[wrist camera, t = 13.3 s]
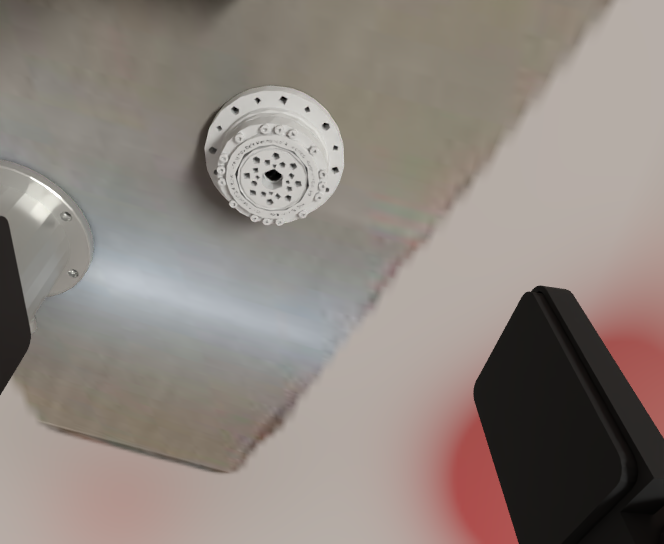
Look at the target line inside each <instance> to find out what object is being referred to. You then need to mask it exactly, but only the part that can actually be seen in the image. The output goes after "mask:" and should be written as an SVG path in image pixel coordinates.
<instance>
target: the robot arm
mask: <svg viewBox="0 0 664 544" xmlns="http://www.w3.org/2000/svg"><path fill="white" fill-rule="evenodd" d="M93 252H94V243H93V235H92V232H91V229H90V226H89V223H88V221H87V220H86V218H85V216H84V214H83V212H82V211H81V209H80V208H79V207H78V206H77V204H76V203H75V202H74V201H73V199H72V198H71V197H70V196H69V195H68V194H66V193H65V192H64V191H63V190H62V189H61V188H60V187H59V186H58V185H56V184H55V183H53V182H52V181H50V180H49V179H47V178H46V177H45V176H43V175H41V174H39V173H37V172H35V171H33V170H31V169H29V168H27V167H25V166H22V165H19V164H16V163H13V162H10V161H6V160H1V159H0V395H1V393H2V391H3V390H4V388H5V386H6V385H7V383H8V381H9V380H10V378H11V377H12V375H13V373H14V372H15V370H16V368H17V367H18V365H19V363H20V362H21V360H22V358H23V357H24V355H25V353H26V352H27V350H28V347H29V344H30V339H31V333H34V332H35V331H36V330H37V322H36V317H35V314H36V312H37V311H38V309H39V308H40V306H41V304H42V303H43V301H44V300H45V298H46V297H51V296H54V295H57V294H61V293H63V292H65V291H67V290H69V289H71V288H72V287H74V286H75V285H76V284H77V283H78V282H79V281H80V280H81V279H82V278H83V276H84V275H85V273H86V271H87V270H88V268H89V266H90V263H91V261H92V258H93ZM474 401H475V404H476V407H477V411H478V414H479V417H480V420H481V423H482V427H483V430H484V433H485V436H486V440H487V443H488V446H489V449H490V452H491V455H492V459H493V462H494V465H495V469H496V472H497V475H498V478H499V481H500V485H501V488H502V491H503V494H504V497H505V501H506V503H507V507H508V510H509V513H510V517H511V520H512V523H513V526H514V529H515V533H516V536H517V539H518V542H519V544H664V438H663V437H662V435H661V434H660V432H659V430H658V429H657V427H656V426H655V424H654V422H653V421H652V419H651V418H650V416H649V414H648V413H647V412H646V410H645V408H644V407H643V405H642V403H641V402H640V400H639V399H638V397H637V395H636V394H635V392H634V391H633V389H632V387H631V386H630V384H629V383H628V381H627V380H626V378H625V376H624V375H623V373H622V372H621V370H620V369H619V367H618V365H617V364H616V362H615V360H614V359H613V358H612V356H611V354H610V353H609V351H608V349H607V348H606V346H605V345H604V343H603V341H602V340H601V338H600V337H599V335H598V334H597V332H596V331H595V329H594V327H593V326H592V324H591V322H590V321H589V319H588V318H587V316H586V314H585V313H584V311H583V310H582V308H581V306H580V305H579V303H578V302H577V300H576V299H575V297H574V295H573V294H572V293H571V292H570V291H569V290H566V289H560V288H553V287H546V286H537V287H535V288H534V289H533V290H532V291H531V292H526V293H525V294H524V295H523V296H522V298H521V300H520V301H519V303H518V305H517V307H516V309H515V311H514V312H513V314H512V316H511V318H510V320H509V322H508V323H507V326H506V327H505V329H504V331H503V333H502V335H501V336H500V338H499V340H498V342H497V344H496V346H495V348H494V349H493V351H492V353H491V355H490V357H489V358H488V361H487V362H486V364H485V366H484V368H483V369H482V371H481V374H480V375H479V377H478V379H477V380H476V383H475V386H474Z"/></svg>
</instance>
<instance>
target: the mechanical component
mask: <svg viewBox="0 0 664 544" xmlns="http://www.w3.org/2000/svg"><path fill="white" fill-rule="evenodd" d="M282 96H284V97H285V98H286V99H283V98H281V97H282ZM257 97H258V98H257ZM233 106H234V107H236V108H238V109H235V108H234V107H233ZM308 106H309V107H308ZM324 123H328V124H326V125H324ZM204 149H205V157H206V166H207V171H208V173H209V175H210V177H211V179H212V181H213V184H214V185H215V187H216V188H217V189H218V191H219V192H220V193H221V195H222V196H223V197H224V198H225V199H227V200H228V201H229V205H230V206H231V207H232V208H236V209H237V210H238V211H239V212H240V213H242V214H244V215H246V216H248V217H250V219H251V221H253V222H257V221H260V222H263V224H265V225H269V224H271V223H276V224H277V225H278V226H280V225H282V224H283V223H288V222H291V221H293V220H296V219H299V218H305V217H306V216H307V214H308V213H309V212H312V211H314V210H315V209H317V208H318V207H319V206H321V205H322V204H324V203H325V202H326V201H327V199H328V198H329V197H330V196H331V195H332V194H333V193H334V191H335V189H336V187H337V186H338V184H339V182H340V179H341V175H342V172H343V168H344V149H343V141H342V138H341V135H340V132H339V129H338V126H337V124H336V123H335V121H334V120H333V118H332V117H331V115H330V114H329V112H328V111H327V110H326V109H325V108H324V107H323V106H322V105H321V104H320V103H318V102H317V101H316V100H315V99H313V98H312V97H310V96H308V95H307V94H305V93H303V92H301V91H298V90H295V89H292V88H288V87H279V86H270V85H268V86H263V87H258V88H252V89H249V90H246V91H244V92H242V93H240V94H238V95H236V96H235V97H233V98H232V99H231V100H229V101H228V102H227V103H225V104H224V106H223V107H222V108H221V109H220V111H219V112H218V113H217V114H216V116H215V118H214V120H213V122H212V124H211V126H210V128H209V131H208V135H207V140H206V144H205V148H204ZM270 170H271V174H270V175H267V174H265V172H267V171H270ZM276 171H278V172H279V173H280V174H282V176H275V174H276Z"/></svg>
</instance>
